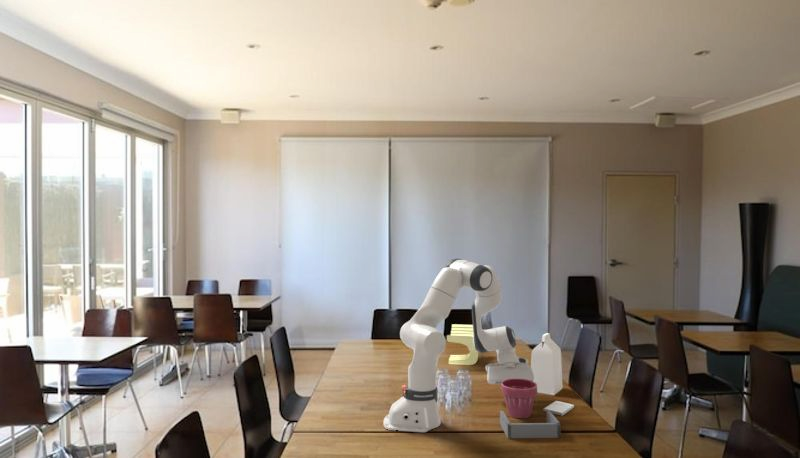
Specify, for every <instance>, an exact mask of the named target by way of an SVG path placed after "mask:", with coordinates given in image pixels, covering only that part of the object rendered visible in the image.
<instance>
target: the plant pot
mask: <svg viewBox="0 0 800 458" xmlns="http://www.w3.org/2000/svg"><path fill="white" fill-rule="evenodd" d="M500 388H501V393H502V394H503V396H504V397H503V398H504V402H505V405H506V410H507V414H508V416H510V417H512V418H516V419H527V418H530V417H531V416H532V412H533V406H534V403H535V397H536V396H537V395H538V392H537V384H536V383H535V382H533V381H531V380H526V379H507V380H504V381H503V382H502V383H501V384H500Z"/></svg>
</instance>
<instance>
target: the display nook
mask: <svg viewBox="0 0 800 458" xmlns="http://www.w3.org/2000/svg"><path fill="white" fill-rule="evenodd" d="M545 415H546V418H545V419H546V421H545V422H534V423H533V422H529V423H528V422H526V423H524V422H523V423H519V422H517V423H515V422H514V423H513V422H512V423H511V422H510V421H509V419H508V416H507V414H506V413H505V412H504V410H499V425H500V426H501V428H502V430H503V432H504V434H505V436H506V437H507V439H559V438H560V439H561V438H562V424H561V423H560V421H559V420H558V419H557V417H555V414H553V413H551V411H550V410H546V413H545Z"/></svg>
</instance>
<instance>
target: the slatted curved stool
mask: <svg viewBox="0 0 800 458" xmlns="http://www.w3.org/2000/svg"><path fill="white" fill-rule="evenodd" d="M450 329H451V330H450V334H447V335H446V342H448V343H457V344H461V345H464V346H466V347H467V349H468V351H469V353H466V354H450V356H449V357H448V365H463V366H465V365H467V366H472V365H475V364H476V363H477V361H478V360H479V359H478V358H479V353H480V352H478V351H477V350H476V349H475V347H474V344H473V335H474V332H473V324H457V323H455V324H452V323H451V328H450Z"/></svg>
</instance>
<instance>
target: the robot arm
mask: <svg viewBox="0 0 800 458" xmlns="http://www.w3.org/2000/svg"><path fill="white" fill-rule="evenodd" d="M461 288H464V289H468V290H472V291H475V299H474V301H472V303H471V319H472V320H471V321H472V325H473V332H474V335H473V344H474V347H475V349H476V350H477V351H478V352H479V353H480V354H485V353H489V352H494V351H495V352H496V354H497V355H496V359H497V362H496V363H495V362H494V363H488V364H486V365H485V372H486V373H487V374H486V380H487V383H488V384H489V385H501V383H502V382H503V381H504V380H507V379H526V380H531V381H534V375H533V371H532V369H531V365H530V364H529V359H528V358H524V357H520V356H518V355H517V354H516V345H517V340H516V334H515V332H514V330H513V329H512V328H511V327H509V326H507V325H506V326H498V327H493V328H488V329H483V326H482V318H483V317H484V316H485V315H486V314H488V313H489V312H491V311H493V310H495V309H496V308H497V307H498V306H499V305H500V304H501V302H502V301H503V291H502V287H501V283H500V280H499V278H498V275H497V274H496V272H495V269H494V268H493V267H492V266H491V265H488V264H484V265H483V264H478V263H476V262H474V261H471V260H466V259H462V258H453V259H450V260H449V261H448V262H447V263H446V265H445V267H443V268H442V269H441V270H440V271H439V272H438V274H437V275H436V277H435V279H434V280H433V282H432V283H431V285H430V288H429V290H428V292H427V293H426V296H425V297H424V301H423V302H422V304H421V306H420V307H419V309H418V310H417V311H416V312H415V313H414V314H413V316H411V318H410V320H408V321H406V322H405V323H404V324H403V325H402V326H401V328H400V330H399V338H400V340H401V341H402V342H403V344H405V346H406V347H408V348H409V349H411V350H413V356H412V360H411V363H410V364H409V365H408V368H407V377H408V379H407V384H408V385H405V384H403V385H401V390H402V396H401V397H400V398H399V399H397V400H396V401H395V402H393V403H392V404H391V406H390V408H389V410H388V414H386V415H385V417H384V418H383V423H382V424H383V427H384V429H386V430H387V429H388V431H396V430H398V431H399V432H413V433H427V432H428V431H430V430H432V429H433V430H434V429H435V428H438V427H439V426H440V425H442V423H441V419H440V414H439V410H438V409H439V408H438V399H439V398H438V397H439V391H438V390H439V389H438V386H437V367H438V361H439V358H440V356H441V354H442V353H444V350H445V349H446V344H447V339H446V336H445V335H444V334H443V333H442V332H441V331H440V330H439V329H438V328H437V327H438V326H439V324H440V323H441V322H442V321H444V320H446V319H447V318H448V317H449V315H450V313H451V311H452V308H453V305H454V304H455V301H456V299H457V297H458V295H459V291H460V289H461Z"/></svg>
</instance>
